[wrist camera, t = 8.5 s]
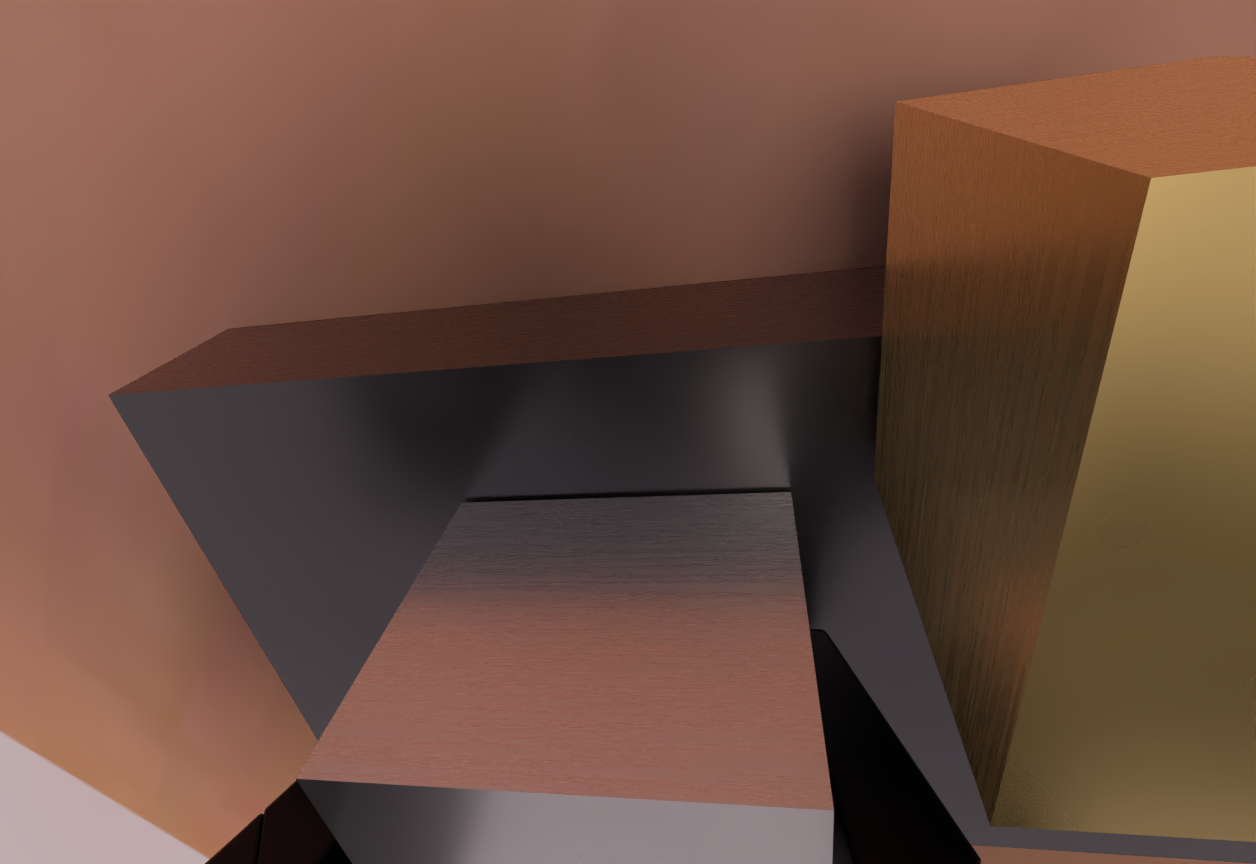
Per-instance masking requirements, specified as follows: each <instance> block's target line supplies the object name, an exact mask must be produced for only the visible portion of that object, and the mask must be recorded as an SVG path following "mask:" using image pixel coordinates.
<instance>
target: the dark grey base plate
mask: <svg viewBox="0 0 1256 864" xmlns="http://www.w3.org/2000/svg"><path fill="white" fill-rule="evenodd" d="M885 274H886V266H882V267H872V268H861V269H851V270H840V271H830V272H819V273H809V274H798V275H788V276H778V277H767V278H757V279H746V280H736V281H725V282H715V283H705V284H694V285H684V286H673V287H663V288H652V289H642V290H632V291H621V292H611V293H600V294H590V295H579V296H569V297H559V298H548V299H538V300H527V301H517V302H506V303H496V304H486V305H475V306H465V307H454V308H444V309H433V310H423V311H412V312H402V313H392V314H381V315H371V316H360V317H350V318H339V319H329V320H319V321H308V322H298V323H287V324H277V325H266V326H256V327H246V328H235V329H228V330H226V331H224V332H222V333H220V334H218V335H217V336H215V337H213V338H211V339H209V340H208V341H206V342H204V343H202V344H200V345H198V346H197V347H195V348H193V349H191V350H189V351H188V352H186V353H184V354H182V355H180V356H178V357H177V358H175V359H173V360H171V361H169V362H168V363H166V364H164V365H162V366H160V367H159V368H157V369H155V370H153V371H151V372H149V373H148V374H146V375H144V376H142V377H140V378H139V379H137V380H135V381H133V382H131V383H129V384H128V385H126V386H124V387H122V388H120V389H119V390H117V391H115V392H113V393H111V394H109V397H110V399H111V400H112V402H113V404H114V405H115V407H116V409H117V410H118V412H119V414H120V415H121V417H122V418H123V420H124V422H125V423H126V425H127V427H128V428H129V430H130V432H131V433H132V435H133V437H134V438H135V440H136V442H137V443H138V445H139V446H140V448H141V450H142V451H143V453H144V455H145V456H146V458H147V460H148V461H149V463H150V465H151V466H152V468H153V469H154V471H155V473H156V474H157V476H158V478H159V479H160V481H161V483H162V484H163V486H164V488H165V489H166V491H167V493H168V494H169V496H170V497H171V499H172V501H173V502H174V504H175V506H176V507H177V509H178V511H179V512H180V514H181V516H182V517H183V519H184V520H185V522H186V524H187V525H188V527H189V529H190V530H191V532H192V534H193V535H194V537H195V539H196V540H197V542H198V544H199V545H200V547H201V548H202V550H203V552H204V553H205V555H206V557H207V558H208V560H209V562H210V563H211V565H212V567H213V568H214V570H215V572H216V573H217V575H218V576H219V578H220V580H221V581H222V583H223V585H224V586H225V588H226V590H227V591H228V593H229V595H230V596H231V598H232V599H233V601H234V603H235V604H236V606H237V608H238V609H239V611H240V613H241V614H242V616H243V618H244V619H245V621H246V623H247V624H248V626H249V627H250V629H251V631H252V632H253V634H254V636H255V637H256V639H257V641H258V642H259V644H260V646H261V647H262V649H263V650H264V652H265V654H266V655H267V657H268V659H269V660H270V662H271V664H272V665H273V667H274V669H275V670H276V672H277V674H278V675H279V677H280V678H281V680H282V682H283V683H284V685H285V687H286V688H287V690H288V692H289V693H290V695H291V697H292V698H293V700H294V701H295V703H296V705H297V706H298V708H299V710H300V711H301V713H302V715H303V716H304V718H305V720H306V721H307V723H308V725H309V726H310V728H311V729H312V731H313V733H314V734H315V736H316V738H317V739H318V741H319V739H320V737H321V736H322V734H323V732H324V731H325V729H326V727H327V726H328V724H329V722H330V721H331V719H332V717H333V716H334V714H335V712H336V711H337V709H338V707H339V706H340V704H341V702H342V701H343V699H344V697H345V696H346V694H347V692H348V691H349V689H350V687H351V686H352V684H353V682H354V681H355V679H356V677H357V676H358V674H359V673H360V671H361V669H362V668H363V666H364V664H365V663H366V661H367V659H368V658H369V656H370V654H371V653H372V651H373V649H374V648H375V646H376V644H377V643H378V641H379V639H380V638H381V636H382V634H383V633H384V631H385V629H386V628H387V626H388V624H389V623H390V621H391V619H392V618H393V616H394V614H395V613H396V611H397V609H398V608H399V606H400V604H401V603H402V601H403V599H404V598H405V596H406V594H407V593H408V591H409V589H410V588H411V586H412V584H413V583H414V581H415V579H416V578H417V576H418V574H419V573H420V571H421V569H422V568H423V566H424V564H425V563H426V561H427V559H428V558H429V556H430V554H431V553H432V551H433V549H434V548H435V546H436V544H437V543H438V541H439V539H440V538H441V536H442V534H443V533H444V531H445V529H446V528H447V526H448V524H449V523H450V521H451V519H452V518H453V516H454V514H455V513H456V511H457V509H458V508H459V506H460V504H461V503H467V502H498V501H529V500H559V499H590V498H621V497H651V496H682V495H713V494H744V493H774V492H791V495H792V503H793V510H794V518H795V525H796V532H797V540H798V547H799V555H800V562H801V569H802V577H803V584H804V592H805V599H806V607H807V614H808V621H809V629H823V630H825V631H826V632H827V633H828V635H829V636H830V637H831V639H832V640H833V642H834V643H835V645H836V646H837V648H838V649H839V651H840V652H841V654H842V655H843V657H844V658H845V660H846V661H847V663H848V664H849V666H850V667H851V668H852V670H853V671H854V673H855V674H856V676H857V677H858V679H859V680H860V682H861V683H862V685H863V686H864V688H865V689H866V691H867V692H868V694H869V695H870V697H871V698H872V699H873V701H874V702H875V704H876V705H877V707H878V708H879V710H880V711H881V713H882V714H883V716H884V717H885V719H886V720H887V722H888V723H889V725H890V726H891V728H892V729H893V730H894V732H895V733H896V735H897V736H898V738H899V739H900V741H901V742H902V744H903V745H904V747H905V748H906V750H907V751H908V753H909V754H910V756H911V757H912V759H913V760H914V761H915V763H916V764H917V766H918V767H919V769H920V770H921V772H922V773H923V775H924V776H925V778H926V779H927V781H928V782H929V784H930V785H931V787H932V788H933V790H934V791H935V792H936V794H937V795H938V797H939V798H940V800H941V801H942V803H943V804H944V806H945V807H946V809H947V810H948V812H949V813H950V815H951V816H952V818H953V819H954V820H955V822H956V823H957V825H958V826H959V828H960V829H961V831H962V832H963V834H964V835H965V837H966V838H967V840H968V841H969V843H970V844H971V845H982V846H997V847H1012V848H1027V849H1043V850H1058V851H1073V852H1089V853H1104V854H1119V855H1134V856H1150V857H1165V858H1180V859H1195V860H1211V861H1226V862H1241V863H1256V842H1246V841H1230V840H1213V839H1196V838H1180V837H1163V836H1147V835H1130V834H1113V833H1097V832H1080V831H1063V830H1047V829H1030V828H1013V827H997V826H990V824H989V821H988V818H987V815H986V812H985V809H984V806H983V803H982V800H981V797H980V794H979V791H978V788H977V785H976V782H975V779H974V776H973V773H972V770H971V767H970V764H969V761H968V758H967V755H966V752H965V749H964V746H963V743H962V740H961V737H960V734H959V731H958V728H957V725H956V722H955V719H954V716H953V713H952V710H951V707H950V704H949V701H948V698H947V695H946V692H945V689H944V686H943V683H942V680H941V677H940V674H939V671H938V668H937V665H936V662H935V659H934V657H933V654H932V651H931V648H930V645H929V642H928V639H927V636H926V633H925V630H924V627H923V624H922V621H921V618H920V615H919V612H918V609H917V606H916V603H915V600H914V597H913V594H912V591H911V588H910V585H909V582H908V579H907V576H906V573H905V570H904V567H903V564H902V561H901V558H900V555H899V552H898V549H897V546H896V543H895V540H894V537H893V534H892V531H891V528H890V525H889V522H888V519H887V516H886V513H885V510H884V507H883V504H882V501H881V498H880V495H879V492H878V489H877V486H876V483H875V480H874V461H875V444H876V427H877V410H878V393H879V376H880V359H881V342H882V325H883V308H884V291H885Z"/></svg>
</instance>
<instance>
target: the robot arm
mask: <svg viewBox="0 0 1256 864" xmlns="http://www.w3.org/2000/svg"><path fill="white" fill-rule="evenodd" d="M810 636H811V644H812V651H813V659H814V666H815V673H816V681H817V688H818V696H819V703H820V711H821V718H822V725H823V733H824V740H825V748H826V755H827V763H828V770H829V777H830V785H831V792H832V800H833V807H834V826H833V857H832V864H981V859H980V857H979V856H978V854H977V853H976V851H975V850H974V849H973V847H972V846H971V844H970V843H969V841H968V840H967V838H966V837H965V835H964V834H963V832H962V831H961V829H960V828H959V826H958V825H957V823H956V822H955V820H954V819H953V818H952V816H951V815H950V813H949V812H948V810H947V809H946V807H945V806H944V804H943V803H942V801H941V800H940V798H939V797H938V795H937V794H936V792H935V791H934V790H933V788H932V787H931V785H930V784H929V782H928V781H927V779H926V778H925V776H924V775H923V773H922V772H921V770H920V769H919V767H918V766H917V764H916V763H915V761H914V760H913V759H912V757H911V756H910V754H909V753H908V751H907V750H906V748H905V747H904V745H903V744H902V742H901V741H900V739H899V738H898V736H897V735H896V733H895V732H894V730H893V729H892V728H891V726H890V725H889V723H888V722H887V720H886V719H885V717H884V716H883V714H882V713H881V711H880V710H879V708H878V707H877V705H876V704H875V702H874V701H873V699H872V698H871V697H870V695H869V694H868V692H867V691H866V689H865V688H864V686H863V685H862V683H861V682H860V680H859V679H858V677H857V676H856V674H855V673H854V671H853V670H852V668H851V667H850V666H849V664H848V663H847V661H846V660H845V658H844V657H843V655H842V654H841V652H840V651H839V649H838V648H837V646H836V645H835V643H834V642H833V640H832V639H831V637H830V636H829V635H828V633H827V632H826V631H825V630H823V629H810ZM205 864H352V863H351V861H350V860H349V858H348V857H347V855H346V854H345V852H344V850H343V849H342V847H341V846H340V844H339V843H338V841H337V840H336V838H335V837H334V835H333V834H332V832H331V831H330V829H329V828H328V826H327V825H326V823H325V822H324V820H323V819H322V817H321V816H320V814H319V813H318V811H317V810H316V808H315V807H314V805H313V804H312V802H311V801H310V799H309V798H308V796H307V795H306V793H305V792H304V790H303V789H302V787H301V786H300V784H299V783H298V781H297V780H296V781H295V782H294V783H293V784H292V785H291V786H290V787H289V788H288V789H286V790H285V791H284V792H283V793H282V794H281V795H280V796H279V797H278V798H277V799H276V800H275V801H273V802H272V803H271V804H270V805H269V806H268V807H267V808H266V809H265V811H264V814H260V815H258V816H257V817H256V818H255V819H254V820H253V821H252V822H250V823H249V824H248V825H247V826H246V827H245V828H244V829H243V830H242V831H241V832H240V833H239V834H237V835H236V836H235V837H234V838H233V839H232V840H231V841H230V842H229V843H227V844H226V845H225V846H224V847H223V848H222V849H221V850H220V851H219V852H217V853H216V854H215V855H214V856H213V857H212V858H211V859H210V860H208V861H207V862H206V863H205Z"/></svg>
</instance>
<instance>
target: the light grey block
mask: <svg viewBox="0 0 1256 864" xmlns="http://www.w3.org/2000/svg"><path fill="white" fill-rule="evenodd" d="M296 780H297V781H298V783H299V784H300V786H301V787H302V789H303V790H304V792H305V793H306V795H307V796H308V798H309V799H310V801H311V802H312V804H313V805H314V807H315V808H316V810H317V811H318V813H319V814H320V816H321V817H322V819H323V820H324V822H325V823H326V825H327V826H328V828H329V829H330V831H331V832H332V834H333V835H334V837H335V838H336V840H337V841H338V843H339V844H340V846H341V847H342V849H343V850H344V852H345V854H346V855H347V857H348V858H349V860H350V861H351V863H352V864H832V857H833V826H834V807H833V800H832V792H831V785H830V777H829V770H828V763H827V755H826V748H825V740H824V733H823V725H822V718H821V711H820V703H819V696H818V688H817V681H816V673H815V666H814V659H813V651H812V644H811V636H810V629H809V621H808V614H807V607H806V599H805V592H804V584H803V577H802V569H801V562H800V555H799V547H798V540H797V532H796V525H795V518H794V510H793V503H792V495H791V492H774V493H744V494H713V495H682V496H651V497H621V498H590V499H559V500H529V501H498V502H467V503H461V504H460V506H459V508H458V509H457V511H456V513H455V514H454V516H453V518H452V519H451V521H450V523H449V524H448V526H447V528H446V529H445V531H444V533H443V534H442V536H441V538H440V539H439V541H438V543H437V544H436V546H435V548H434V549H433V551H432V553H431V554H430V556H429V558H428V559H427V561H426V563H425V564H424V566H423V568H422V569H421V571H420V573H419V574H418V576H417V578H416V579H415V581H414V583H413V584H412V586H411V588H410V589H409V591H408V593H407V594H406V596H405V598H404V599H403V601H402V603H401V604H400V606H399V608H398V609H397V611H396V613H395V614H394V616H393V618H392V619H391V621H390V623H389V624H388V626H387V628H386V629H385V631H384V633H383V634H382V636H381V638H380V639H379V641H378V643H377V644H376V646H375V648H374V649H373V651H372V653H371V654H370V656H369V658H368V659H367V661H366V663H365V664H364V666H363V668H362V669H361V671H360V673H359V674H358V676H357V677H356V679H355V681H354V682H353V684H352V686H351V687H350V689H349V691H348V692H347V694H346V696H345V697H344V699H343V701H342V702H341V704H340V706H339V707H338V709H337V711H336V712H335V714H334V716H333V717H332V719H331V721H330V722H329V724H328V726H327V727H326V729H325V731H324V732H323V734H322V736H321V737H320V739H319V741H318V742H317V744H316V746H315V747H314V749H313V751H312V752H311V754H310V756H309V757H308V759H307V761H306V762H305V764H304V766H303V767H302V769H301V771H300V772H299V774H298V776H297V777H296Z"/></svg>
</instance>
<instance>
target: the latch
mask: <svg viewBox="0 0 1256 864" xmlns="http://www.w3.org/2000/svg"><path fill="white" fill-rule="evenodd" d="M874 480H875V483H876V486H877V489H878V492H879V495H880V498H881V501H882V504H883V507H884V510H885V513H886V516H887V519H888V522H889V525H890V528H891V531H892V534H893V537H894V540H895V543H896V546H897V549H898V552H899V555H900V558H901V561H902V564H903V567H904V570H905V573H906V576H907V579H908V582H909V585H910V588H911V591H912V594H913V597H914V600H915V603H916V606H917V609H918V612H919V615H920V618H921V621H922V624H923V627H924V630H925V633H926V636H927V639H928V642H929V645H930V648H931V651H932V654H933V657H934V659H935V662H936V665H937V668H938V671H939V674H940V677H941V680H942V683H943V686H944V689H945V692H946V695H947V698H948V701H949V704H950V707H951V710H952V713H953V716H954V719H955V722H956V725H957V728H958V731H959V734H960V737H961V740H962V743H963V746H964V749H965V752H966V755H967V758H968V761H969V764H970V767H971V770H972V773H973V776H974V779H975V782H976V785H977V788H978V791H979V794H980V797H981V800H982V803H983V806H984V809H985V812H986V815H987V818H988V821H989V824H990V826H997V827H1013V828H1030V829H1047V830H1063V831H1080V832H1097V833H1113V834H1130V835H1147V836H1163V837H1180V838H1196V839H1213V840H1230V841H1246V842H1256V57H1206V58H1199V59H1192V60H1185V61H1178V62H1171V63H1164V64H1157V65H1150V66H1143V67H1136V68H1129V69H1122V70H1115V71H1108V72H1101V73H1093V74H1086V75H1079V76H1072V77H1065V78H1058V79H1051V80H1044V81H1037V82H1030V83H1023V84H1016V85H1009V86H1002V87H995V88H988V89H981V90H974V91H967V92H959V93H952V94H945V95H938V96H931V97H924V98H917V99H910V100H903V101H896V104H895V121H894V138H893V155H892V172H891V189H890V206H889V223H888V240H887V257H886V274H885V291H884V308H883V325H882V342H881V359H880V376H879V393H878V410H877V427H876V444H875V461H874Z"/></svg>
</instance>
